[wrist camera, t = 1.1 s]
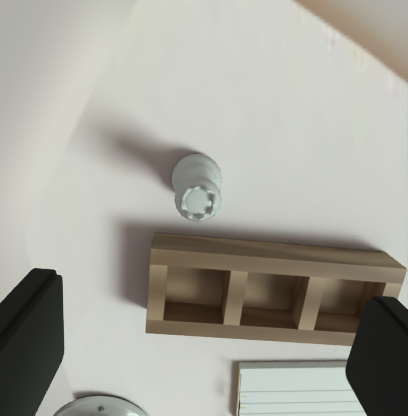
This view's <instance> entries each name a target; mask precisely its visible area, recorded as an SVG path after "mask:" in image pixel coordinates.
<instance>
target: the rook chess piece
mask: <svg viewBox="0 0 408 416" xmlns="http://www.w3.org/2000/svg"><path fill="white" fill-rule="evenodd" d="M221 183H222V177H221V171H220V168H219V167H218V165H217V163H216V162H215V161H214V160H213V159H211V158H210V157H208V156H207V155H202V154H192V155H187V156H185V157H184V158H182V159H181V160H179V161H178V163H177V164H176V166H175V167H174V169H173V174H172V184H173V189H174V191H175V192H176V194H175V204H176V208H177V210H178V211H179V212H180V214H181V215H182V216H184V217H185V218H187V219H188V220H192V221H197V222H199V221H204V220H208V219H209V218H211V217H212V216H214V215H215V214H216V212H217V211H218V210H219V208H220V204H221V200H222V199H221V194H220V187H221Z"/></svg>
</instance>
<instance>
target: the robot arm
mask: <svg viewBox="0 0 408 416" xmlns="http://www.w3.org/2000/svg"><path fill="white" fill-rule="evenodd" d="M63 355H64V320H63V281H62V276H61V275H57V273H56V271H55V270H52V269H40V268H34V269H32V270H31V271H30V272H29V273H28V274H27V276H25V277H24V279H23V280H22V281H21V282H20V283H19V284H18V285H17V286H16V287H15V288H14V289H13V290H12V291H11V292H10V293H9V294H8V295H7V297H6V298H5V299H4V300H3V301H2V302H1V303H0V416H35V414H36V412H37V410H38V408H39V406H40V404H41V402H42V400H43V398H44V396H45V394H46V392H47V390H48V388H49V386H50V384H51V382H52V380H53V378H54V376H55V374H56V372H57V370H58V368H59V365H60V364H61V362H62V359H63ZM345 374H346V378H347V381H348V382H349V384H350V386H351V388H352V390H353V392H354V393H355V395H356V397H357V399H358V401H359V402H360V404H361V406H362V408H363V410H364V411H365V413H366V415H367V416H408V309H407V308H406V307H404V306H403V305H402V304H401V303H400V302H399V301H398V300H397V299H396V298H395V297H390V296H377V295H375V296H373V297H372V298H371V299H370V300H367V301H366V303H365V306H364V309H363V312H362V315H361V319H360V322H359V325H358V328H357V332H356V335H355V338H354V341H353V345H352V348H351V351H350V354H349V358H348V361H347V364H346V368H345ZM54 416H147V415H146V414H145V413H144V412H143V411H142V410H141V409H140V408H138V407H136V406H135V405H133V404H131V403H129V402H127V401H124V400H122V399H118V398H114V397H108V396H89V397H85V398H80V399H77V400H74V401H72V402H69V403H68V404H66V405H64V406H63V407H61V408H60V409H59V410H58V411H57V412H56V413H55V414H54Z"/></svg>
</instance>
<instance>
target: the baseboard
mask: <svg viewBox="0 0 408 416" xmlns="http://www.w3.org/2000/svg"><path fill="white" fill-rule="evenodd" d="M346 364H347V361H310V362H239V369H238V384H237V399H236V413H235V416H367V415H366V413H365V411H364V410H363V408H362V406H361V404H360V402H359V401H358V399H357V397H356V395H355V393H354V392H353V390H352V388H351V386H350V384H349V382H348V381H347V378H346V374H345V368H346Z"/></svg>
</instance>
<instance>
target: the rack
mask: <svg viewBox="0 0 408 416" xmlns="http://www.w3.org/2000/svg"><path fill="white" fill-rule="evenodd" d="M406 272H407V269H406V268H405V267H404V266H403V265H401V264H400V263H399V262H397V261H396V260H395V259H394V258H392V257H391V256H390V255H388V254H387V253H386V252H378V251H366V250H355V249H343V248H331V247H319V246H307V245H295V244H283V243H271V242H259V241H247V240H235V239H223V238H211V237H200V236H188V235H176V234H164V233H155V235H154V239H153V242H152V246H151V252H150V268H149V284H148V301H147V317H146V333H154V334H169V335H185V336H201V337H217V338H233V339H248V340H264V341H280V342H296V343H312V344H327V345H343V346H352V345H353V341H354V338H355V335H356V332H357V328H358V325H359V322H360V319H361V315H362V312H363V309H364V306H365V303H366V301H367V300H370V299H371V298H372V297H373V296H375V295H377V296H390V297H395V298H396V299H398V296H399V293H400V290H401V287H402V284H403V281H404V278H405V275H406Z"/></svg>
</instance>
